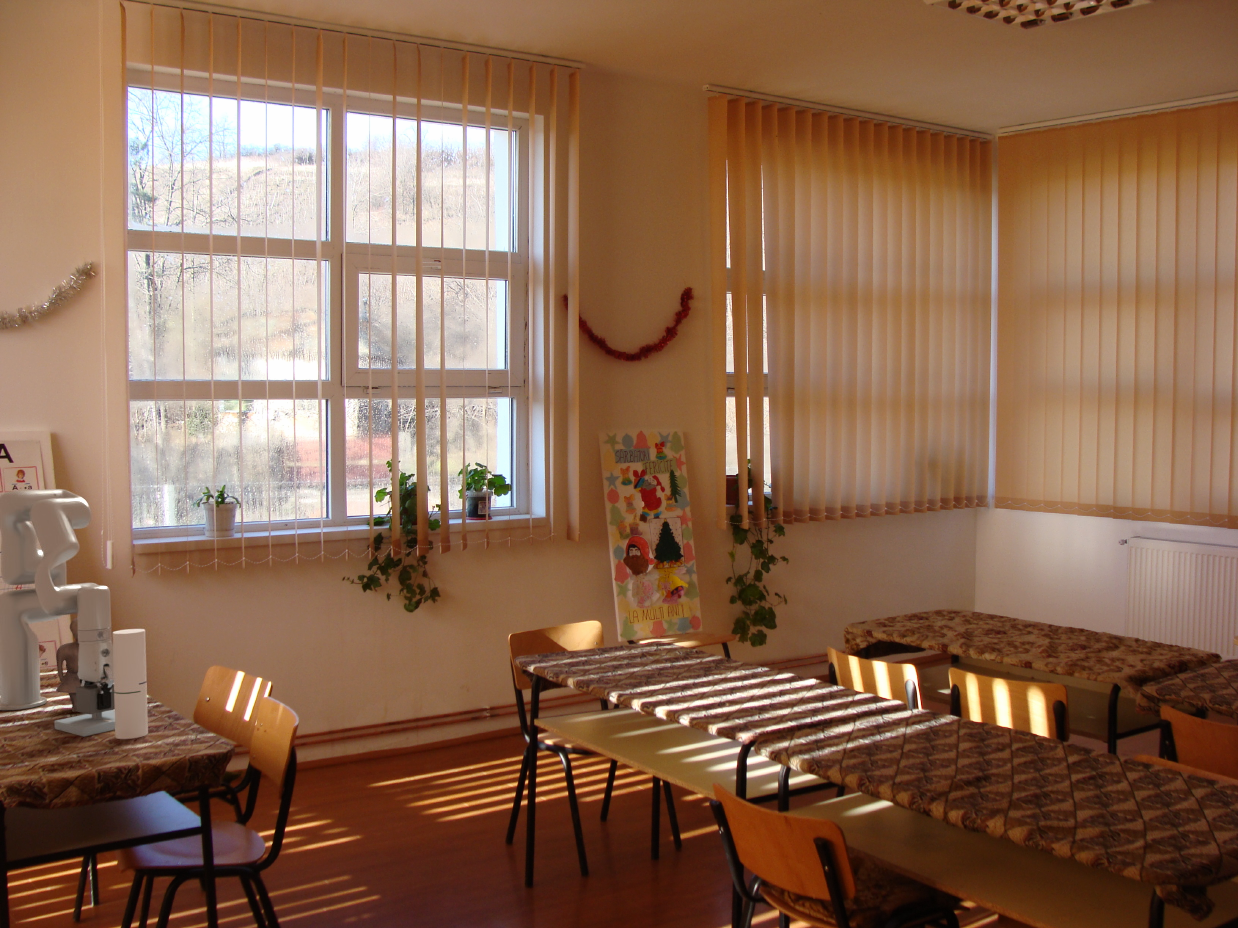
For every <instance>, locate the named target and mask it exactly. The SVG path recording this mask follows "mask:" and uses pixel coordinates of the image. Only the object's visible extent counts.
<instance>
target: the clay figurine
mask: <svg viewBox="0 0 1238 928" xmlns="http://www.w3.org/2000/svg"><path fill="white" fill-rule="evenodd" d="M69 630H70V632H71V633H72V636H73V638H74V639H75V640H74V641H72V642H68V643H65V644H64V643H63V644H62V645H60V646H58V647H57V651H56V655H55V658H56V669H57V675H58V678H59V681H60V683H59V684H58V686H57V687H56V689H55V692H57V693H66V694H68V696H69V699H70V701H71V711H72V712H74V713H76V712H77V703H76V687H80V686H81V683H80V679H79V677H78V653H79V643H78V620H77V616H76V617H74V619H72V620H71V622H70V624H69ZM64 661H65V668H66V673H65V674H64V670H63V669H64V668H63V664H64ZM101 680H105V679H101ZM101 680H100V681H101ZM95 684H96V683H95Z"/></svg>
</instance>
